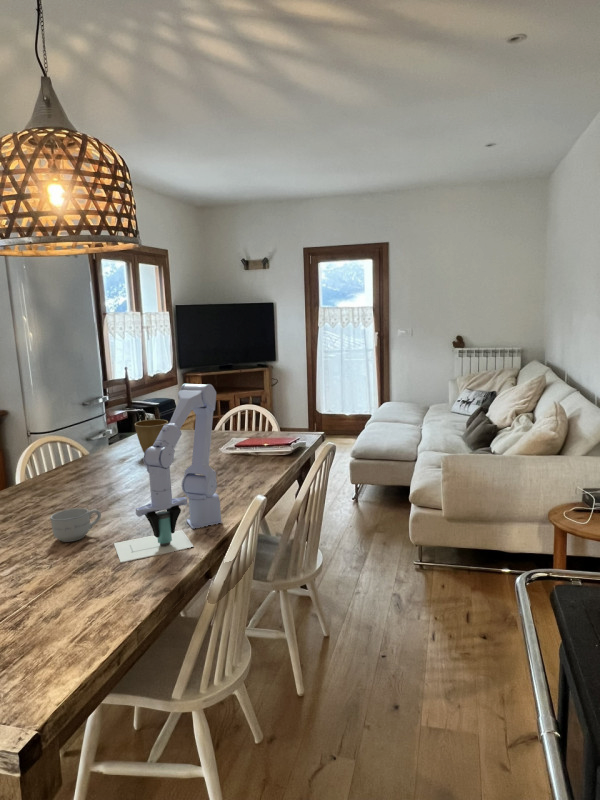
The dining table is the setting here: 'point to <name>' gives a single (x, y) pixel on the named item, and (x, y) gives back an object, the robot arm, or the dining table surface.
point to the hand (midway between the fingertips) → (164, 534)
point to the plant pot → (148, 432)
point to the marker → (164, 528)
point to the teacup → (72, 523)
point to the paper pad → (150, 547)
